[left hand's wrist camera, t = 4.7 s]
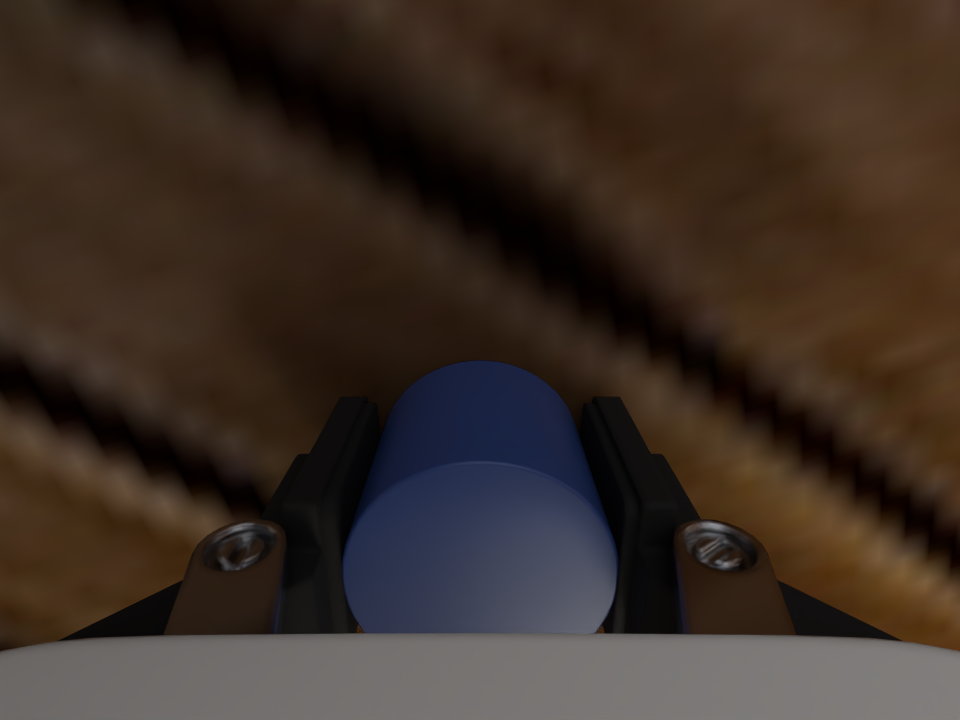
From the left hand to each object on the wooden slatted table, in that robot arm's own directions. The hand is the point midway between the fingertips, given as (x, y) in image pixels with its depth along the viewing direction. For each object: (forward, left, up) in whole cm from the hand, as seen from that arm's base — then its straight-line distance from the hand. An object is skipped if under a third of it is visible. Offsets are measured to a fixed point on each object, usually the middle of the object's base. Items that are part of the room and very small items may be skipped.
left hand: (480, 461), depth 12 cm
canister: (0, 0, 0) cm, 0 cm away
